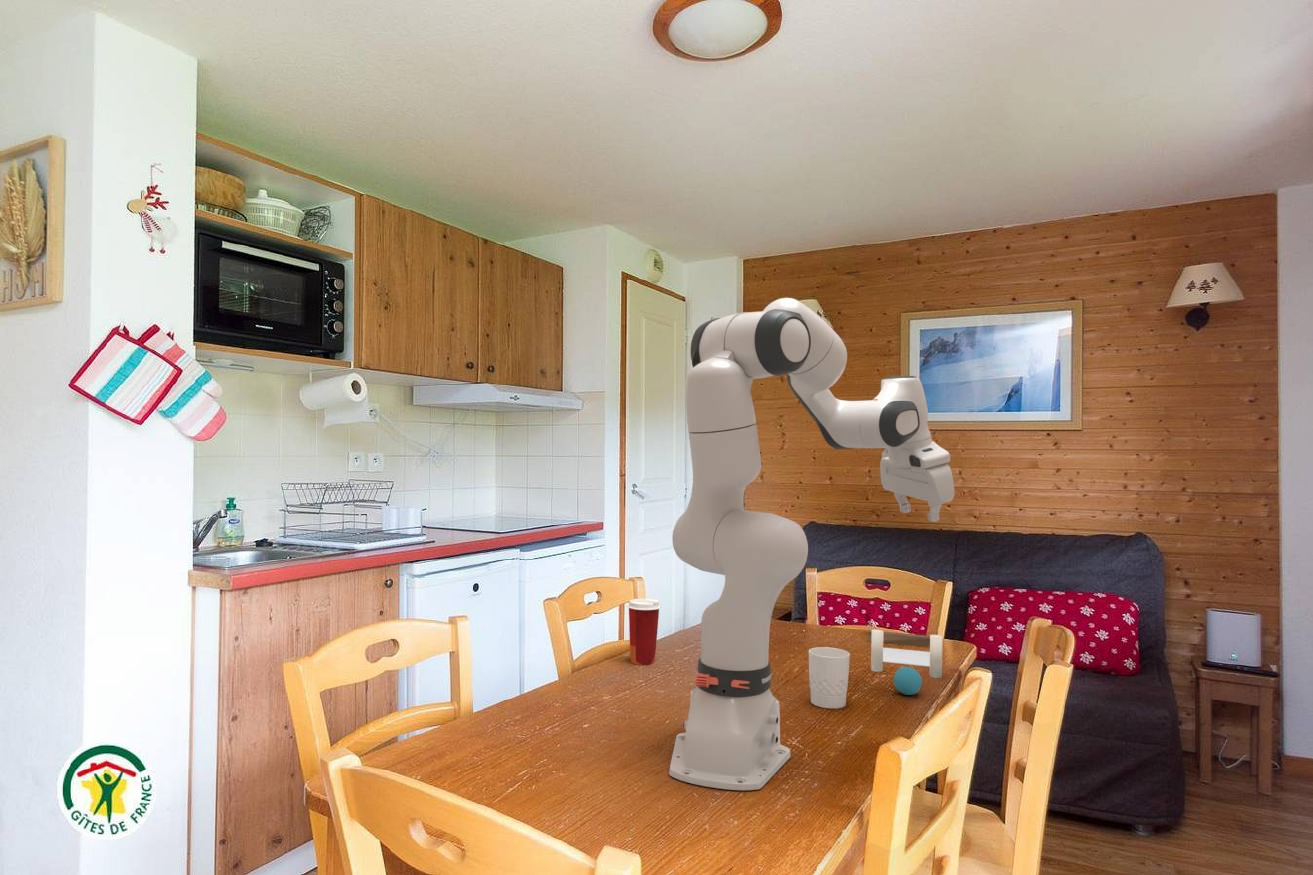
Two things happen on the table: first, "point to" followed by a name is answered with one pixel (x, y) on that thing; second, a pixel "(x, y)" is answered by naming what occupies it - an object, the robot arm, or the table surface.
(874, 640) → the post left
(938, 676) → the post right
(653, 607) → the paper cup
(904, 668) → the ball
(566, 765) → the table surface
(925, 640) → the stopper wall
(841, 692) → the white cup
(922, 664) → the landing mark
